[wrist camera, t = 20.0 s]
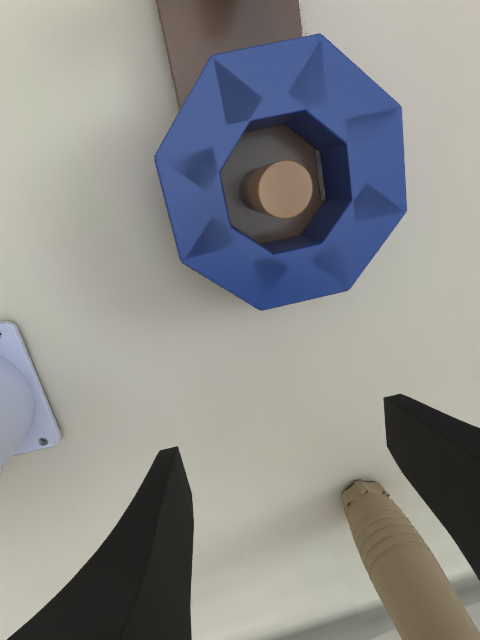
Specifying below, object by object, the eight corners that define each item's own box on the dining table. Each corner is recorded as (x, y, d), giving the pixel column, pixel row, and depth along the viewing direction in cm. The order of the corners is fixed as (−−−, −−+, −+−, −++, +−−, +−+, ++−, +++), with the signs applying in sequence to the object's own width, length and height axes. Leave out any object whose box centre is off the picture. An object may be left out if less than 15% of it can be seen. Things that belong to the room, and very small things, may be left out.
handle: (359, 449, 27) (550, 742, 12) (411, 496, 28) (629, 796, 14) (307, 493, 27) (434, 819, 13) (362, 536, 29) (524, 860, 15)
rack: (210, 257, 21) (220, 288, 15) (135, -94, 16) (98, -290, 10) (316, 235, 21) (372, 255, 15) (274, -116, 16) (331, -320, 10)
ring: (195, 305, 20) (196, 326, 17) (142, 92, 17) (131, 70, 14) (376, 263, 21) (410, 276, 18) (359, 49, 17) (397, 17, 14)
